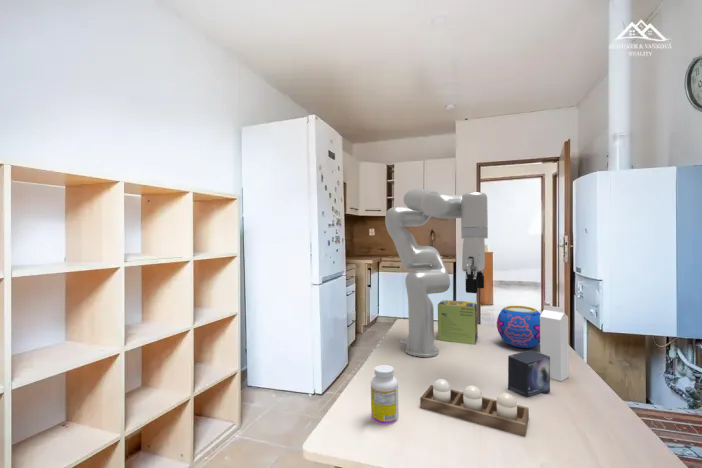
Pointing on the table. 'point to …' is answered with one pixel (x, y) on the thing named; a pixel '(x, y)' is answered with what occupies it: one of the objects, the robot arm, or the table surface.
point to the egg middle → (472, 398)
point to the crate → (477, 412)
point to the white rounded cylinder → (442, 391)
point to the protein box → (457, 321)
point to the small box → (529, 373)
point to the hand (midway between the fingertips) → (475, 290)
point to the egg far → (507, 406)
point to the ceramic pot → (519, 326)
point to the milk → (555, 341)
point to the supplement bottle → (384, 396)
